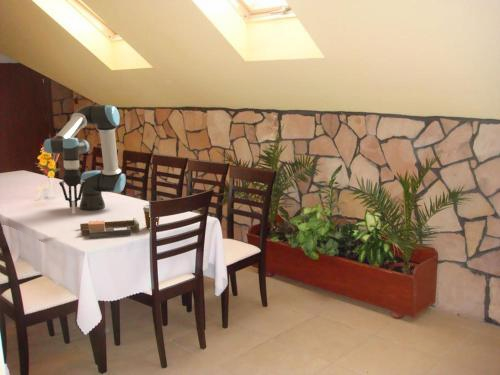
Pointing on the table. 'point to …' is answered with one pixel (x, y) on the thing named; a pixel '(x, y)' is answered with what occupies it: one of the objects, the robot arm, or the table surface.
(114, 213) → the table surface
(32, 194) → the table surface
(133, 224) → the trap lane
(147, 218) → the disposable coffee cup
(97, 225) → the terracotta block
